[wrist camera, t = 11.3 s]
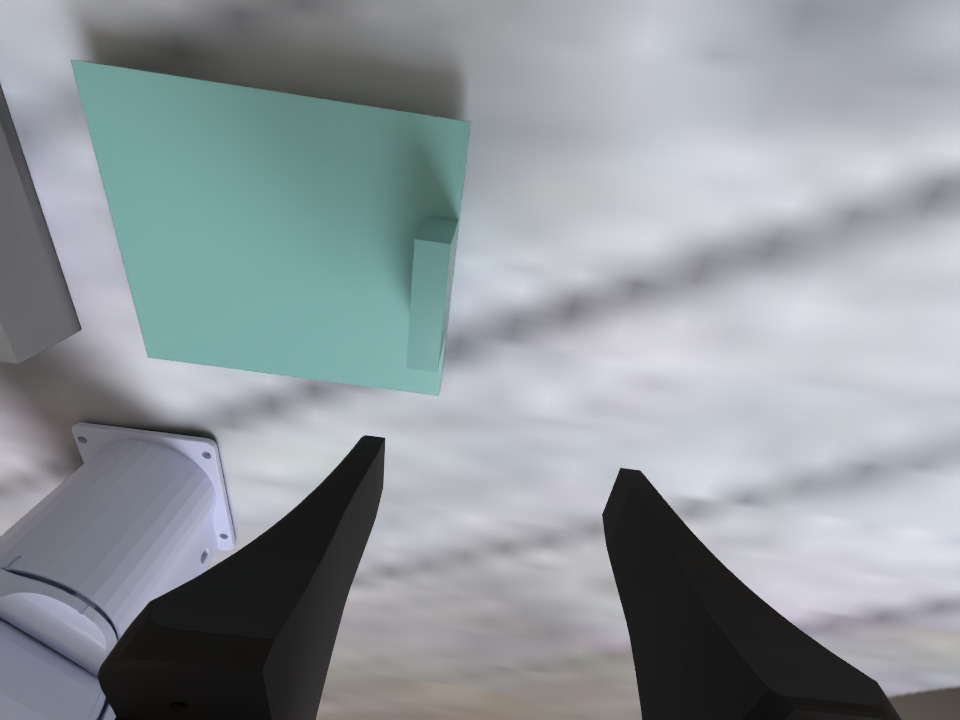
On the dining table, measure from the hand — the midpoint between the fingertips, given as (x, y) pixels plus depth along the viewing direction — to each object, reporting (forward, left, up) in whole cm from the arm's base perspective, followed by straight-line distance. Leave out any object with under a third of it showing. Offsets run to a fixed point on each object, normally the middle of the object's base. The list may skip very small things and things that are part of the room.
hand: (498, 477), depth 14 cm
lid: (+3, +10, -9) cm, 13 cm away
